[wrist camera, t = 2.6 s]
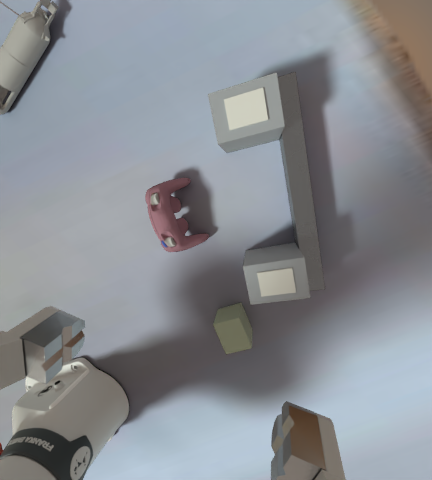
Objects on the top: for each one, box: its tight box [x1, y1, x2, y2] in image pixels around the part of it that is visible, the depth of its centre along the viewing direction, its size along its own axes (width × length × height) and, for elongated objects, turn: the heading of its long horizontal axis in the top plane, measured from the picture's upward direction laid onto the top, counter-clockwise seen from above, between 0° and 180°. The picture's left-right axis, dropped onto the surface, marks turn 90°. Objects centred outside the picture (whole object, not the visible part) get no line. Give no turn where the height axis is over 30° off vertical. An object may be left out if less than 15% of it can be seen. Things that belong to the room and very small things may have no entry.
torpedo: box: [0, 0, 59, 115], centre depth 31 cm, size 18×5×7 cm, turn 133°
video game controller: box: [145, 178, 209, 252], centre depth 33 cm, size 10×5×7 cm, turn 18°
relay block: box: [213, 303, 253, 354], centre depth 35 cm, size 4×5×4 cm
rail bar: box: [277, 72, 325, 291], centre depth 30 cm, size 2×26×3 cm, turn 12°
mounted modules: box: [208, 72, 310, 305], centre depth 29 cm, size 7×24×7 cm, turn 12°
